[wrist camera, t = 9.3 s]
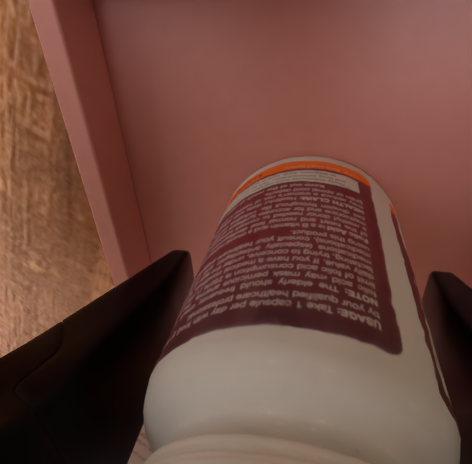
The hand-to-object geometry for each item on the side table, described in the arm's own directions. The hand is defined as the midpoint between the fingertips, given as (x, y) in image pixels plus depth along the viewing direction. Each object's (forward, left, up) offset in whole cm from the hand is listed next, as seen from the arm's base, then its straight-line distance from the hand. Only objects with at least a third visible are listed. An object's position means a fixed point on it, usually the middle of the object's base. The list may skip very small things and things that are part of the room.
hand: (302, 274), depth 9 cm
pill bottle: (0, 0, -2) cm, 2 cm away
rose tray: (0, 0, -2) cm, 2 cm away
